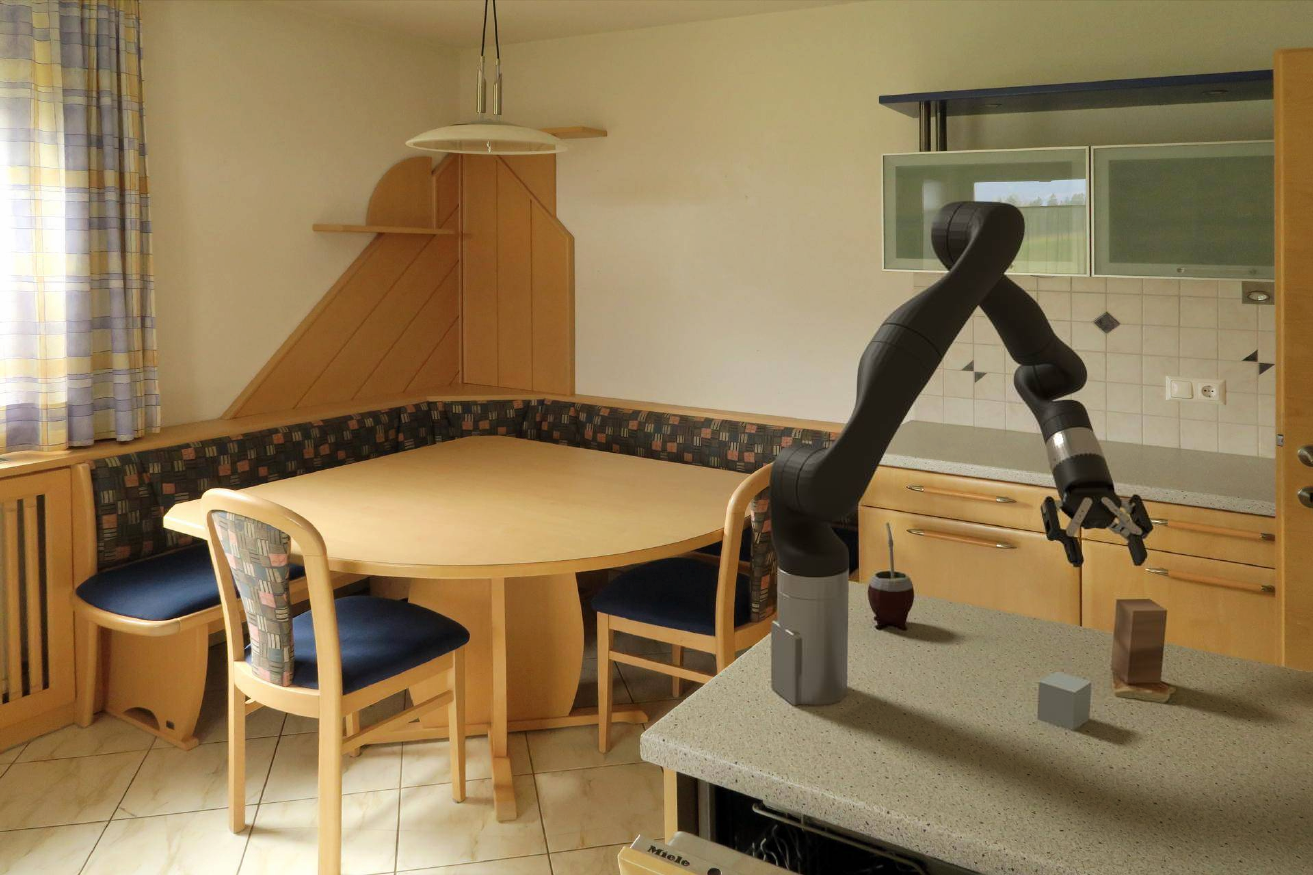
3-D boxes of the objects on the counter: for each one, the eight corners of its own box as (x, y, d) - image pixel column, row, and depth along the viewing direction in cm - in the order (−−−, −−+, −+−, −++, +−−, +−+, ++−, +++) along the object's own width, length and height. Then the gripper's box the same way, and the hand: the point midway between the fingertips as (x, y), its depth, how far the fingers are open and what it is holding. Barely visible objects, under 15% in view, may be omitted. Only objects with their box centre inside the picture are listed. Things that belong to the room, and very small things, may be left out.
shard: (1111, 669, 144) (1112, 657, 143) (1172, 678, 140) (1173, 665, 140) (1111, 700, 134) (1111, 687, 133) (1176, 709, 131) (1177, 696, 130)
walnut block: (1160, 682, 135) (1167, 610, 133) (1127, 683, 134) (1133, 610, 133) (1143, 669, 139) (1149, 598, 137) (1110, 669, 139) (1116, 599, 137)
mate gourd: (892, 636, 156) (894, 540, 153) (853, 622, 162) (855, 530, 159) (924, 625, 160) (927, 532, 157) (885, 611, 166) (887, 522, 164)
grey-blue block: (1072, 731, 124) (1074, 692, 123) (1037, 719, 127) (1039, 681, 127) (1089, 719, 127) (1091, 681, 126) (1054, 708, 130) (1056, 671, 130)
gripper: (1038, 452, 147) (1068, 552, 138) (1136, 450, 147) (1172, 549, 138) (1022, 480, 153) (1050, 578, 144) (1116, 478, 154) (1150, 575, 144)
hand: (1110, 564), depth 141 cm, fingers open, 8 cm apart
